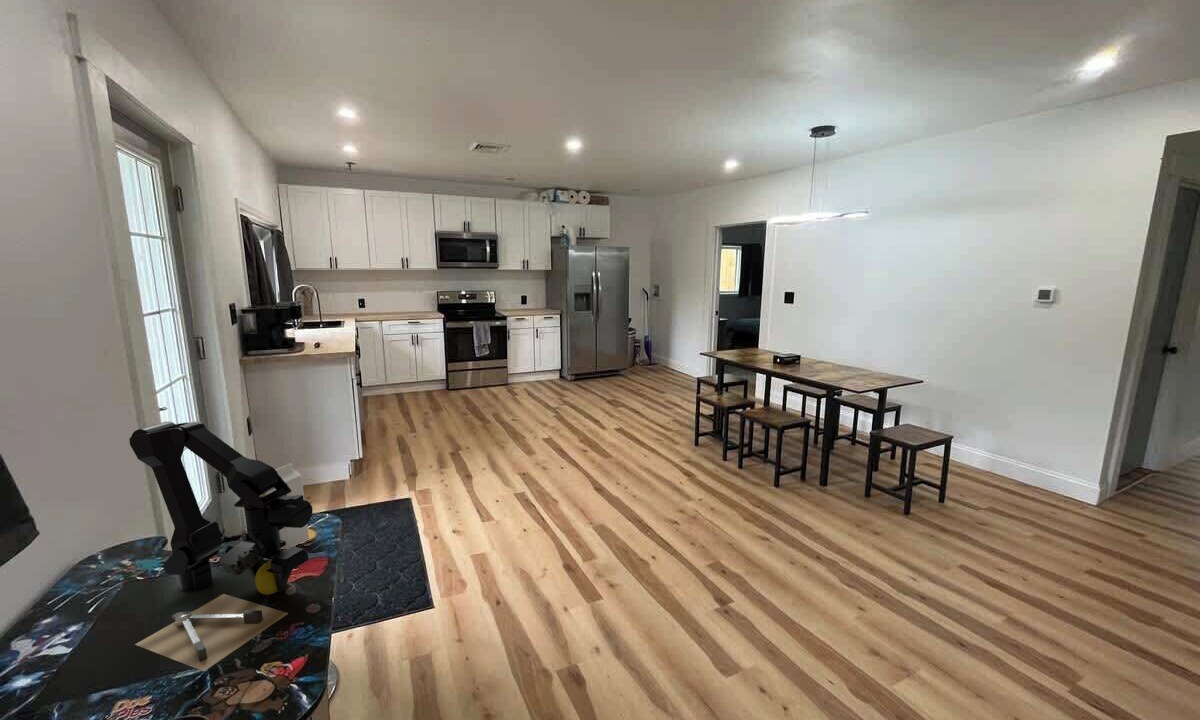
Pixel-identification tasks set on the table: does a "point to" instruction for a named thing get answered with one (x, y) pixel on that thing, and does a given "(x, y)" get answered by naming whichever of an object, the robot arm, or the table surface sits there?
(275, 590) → the lemon
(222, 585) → the table surface
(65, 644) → the table surface
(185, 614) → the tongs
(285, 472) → the milk
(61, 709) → the table surface
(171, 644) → the board
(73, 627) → the table surface
